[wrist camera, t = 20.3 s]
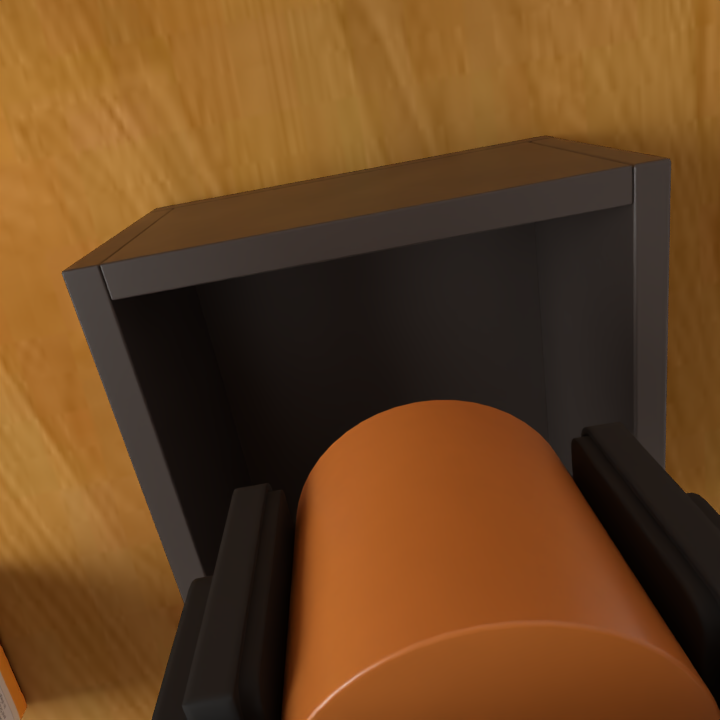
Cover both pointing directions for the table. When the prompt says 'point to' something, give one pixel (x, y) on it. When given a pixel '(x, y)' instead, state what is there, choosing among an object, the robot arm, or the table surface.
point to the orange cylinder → (468, 585)
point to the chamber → (377, 317)
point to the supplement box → (9, 692)
